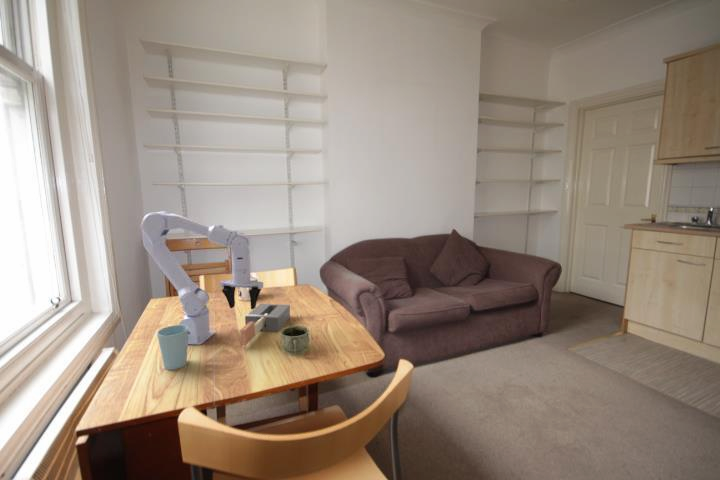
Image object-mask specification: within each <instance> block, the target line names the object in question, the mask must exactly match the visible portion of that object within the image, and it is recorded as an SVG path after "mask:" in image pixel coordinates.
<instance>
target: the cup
mask: <svg viewBox="0 0 720 480" xmlns="http://www.w3.org/2000/svg"><path fill="white" fill-rule="evenodd" d="M188 330H189V328H188V326H185V325H179V324H176V325H175V324H174V325H170V326H166V327H163V328H160V329H158V331H157V333H156V334H157V335H156V336H157V339H158V344H159V350H160V353H161V359H162V363H163V367H164V369H165V370H168V371H172V370H179V369H181V368H182V367H185V366H186V364H187V363H188V361H187V359H188V345H189V344H188Z"/></svg>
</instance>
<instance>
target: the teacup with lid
mask: <svg viewBox="0 0 720 480" xmlns="http://www.w3.org/2000/svg"><path fill="white" fill-rule="evenodd" d="M250 279H251V280H252V281H258V278H257V277H255V276H252V275H250ZM258 282H259V281H258ZM250 289H252V288H242V287H237V297H238V300H239V301H242V302H249V301H250V302H251V299H250V294H249V290H250Z"/></svg>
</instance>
